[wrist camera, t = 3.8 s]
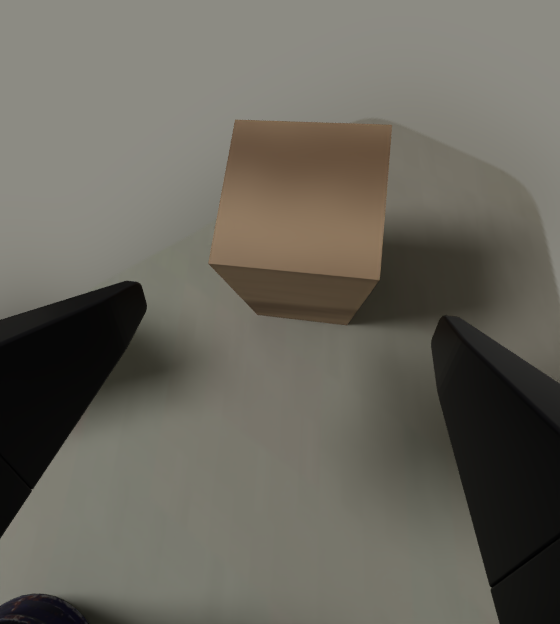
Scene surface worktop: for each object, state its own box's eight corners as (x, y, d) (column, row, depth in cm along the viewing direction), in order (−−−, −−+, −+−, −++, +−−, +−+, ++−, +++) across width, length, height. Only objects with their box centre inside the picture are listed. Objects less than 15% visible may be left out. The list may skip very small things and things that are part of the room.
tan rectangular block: (346, 325, 20) (379, 280, 10) (257, 314, 21) (208, 263, 11) (355, 239, 21) (391, 124, 11) (269, 232, 22) (235, 119, 12)
